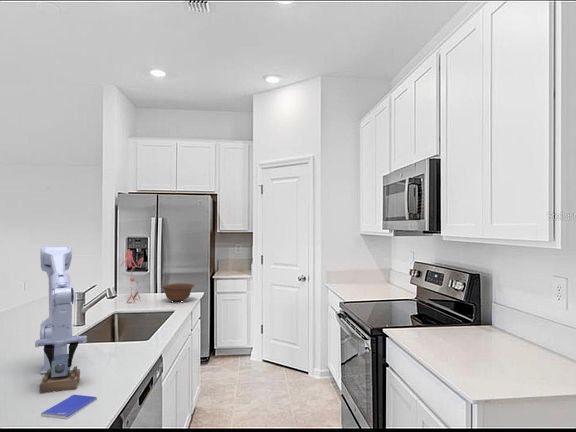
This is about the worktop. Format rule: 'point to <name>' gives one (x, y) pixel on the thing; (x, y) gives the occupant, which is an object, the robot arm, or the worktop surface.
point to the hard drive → (69, 407)
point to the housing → (60, 365)
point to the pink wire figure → (128, 261)
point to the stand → (60, 381)
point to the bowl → (178, 291)
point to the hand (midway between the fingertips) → (61, 367)
